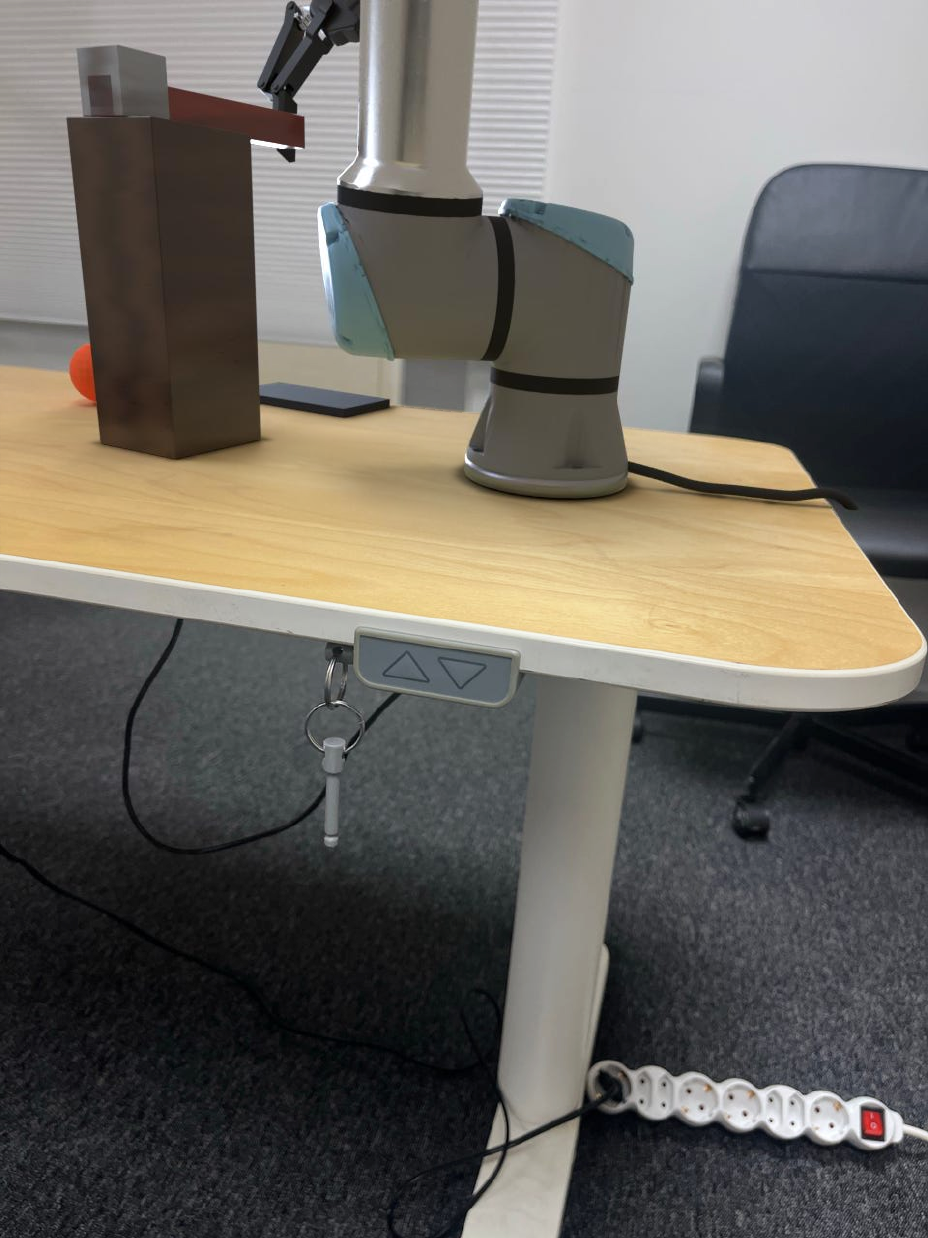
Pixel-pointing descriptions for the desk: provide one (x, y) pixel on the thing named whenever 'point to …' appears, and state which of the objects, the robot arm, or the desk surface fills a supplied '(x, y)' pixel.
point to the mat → (319, 399)
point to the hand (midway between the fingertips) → (340, 147)
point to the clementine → (83, 372)
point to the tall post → (168, 281)
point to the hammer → (173, 98)
